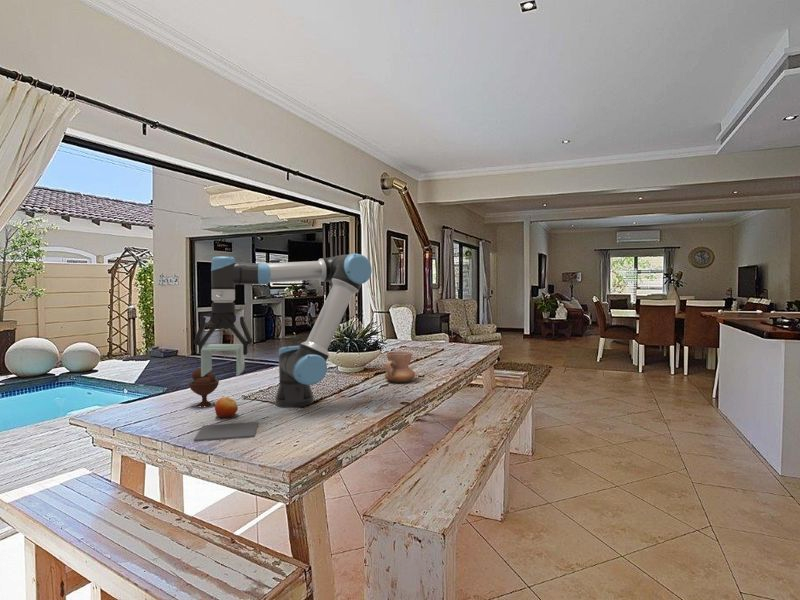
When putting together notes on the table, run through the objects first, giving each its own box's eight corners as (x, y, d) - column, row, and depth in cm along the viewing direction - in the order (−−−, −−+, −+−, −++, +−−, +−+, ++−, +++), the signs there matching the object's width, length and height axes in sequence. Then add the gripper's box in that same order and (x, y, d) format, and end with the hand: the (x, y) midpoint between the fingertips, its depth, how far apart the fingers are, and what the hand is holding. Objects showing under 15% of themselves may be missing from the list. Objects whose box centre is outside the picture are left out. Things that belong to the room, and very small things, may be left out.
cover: (244, 369, 168) (244, 343, 168) (238, 375, 156) (238, 348, 156) (210, 369, 166) (209, 344, 166) (201, 376, 154) (200, 349, 154)
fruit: (213, 410, 174) (224, 391, 174) (232, 420, 175) (243, 401, 175) (206, 416, 166) (217, 397, 166) (226, 427, 167) (237, 408, 167)
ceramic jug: (400, 376, 238) (399, 348, 237) (422, 379, 229) (421, 351, 228) (375, 383, 225) (374, 353, 224) (398, 387, 215) (397, 356, 214)
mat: (258, 423, 162) (258, 421, 162) (254, 437, 149) (254, 435, 149) (202, 427, 159) (202, 425, 158) (193, 441, 145) (193, 439, 145)
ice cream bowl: (209, 409, 180) (208, 371, 179) (183, 408, 182) (182, 370, 181) (224, 402, 190) (224, 365, 189) (200, 401, 192) (199, 364, 191)
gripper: (182, 302, 154) (183, 367, 155) (258, 302, 158) (258, 365, 159) (189, 301, 162) (189, 363, 163) (261, 301, 166) (261, 362, 167)
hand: (223, 364), depth 161 cm, fingers closed on cover, 12 cm apart
